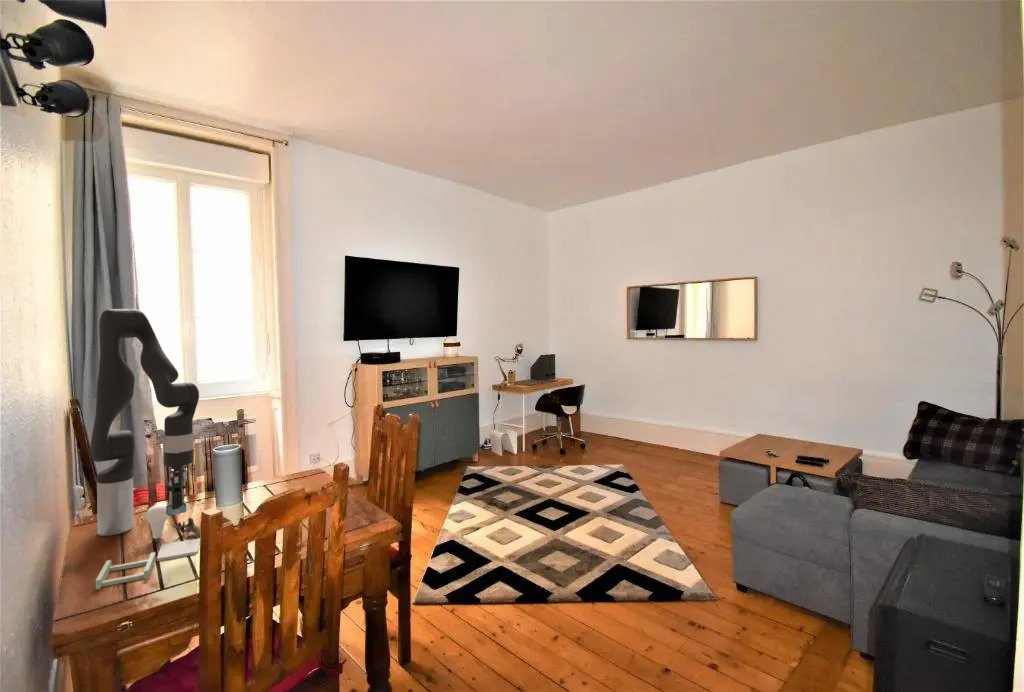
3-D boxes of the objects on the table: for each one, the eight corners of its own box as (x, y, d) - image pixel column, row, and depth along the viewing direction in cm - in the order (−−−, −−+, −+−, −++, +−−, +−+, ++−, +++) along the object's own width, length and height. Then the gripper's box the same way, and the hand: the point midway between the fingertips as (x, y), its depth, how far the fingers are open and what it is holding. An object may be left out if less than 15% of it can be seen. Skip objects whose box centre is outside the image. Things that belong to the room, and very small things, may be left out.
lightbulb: (156, 543, 149) (156, 509, 149) (140, 541, 150) (140, 507, 150) (174, 535, 155) (173, 502, 155) (158, 533, 156) (158, 500, 156)
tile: (161, 547, 147) (161, 544, 147) (200, 540, 152) (200, 538, 152) (156, 561, 138) (156, 558, 138) (197, 553, 143) (197, 551, 143)
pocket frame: (106, 569, 133) (106, 560, 133) (155, 560, 139) (155, 552, 139) (95, 589, 123) (95, 580, 123) (148, 579, 128) (148, 570, 128)
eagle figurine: (166, 537, 151) (189, 535, 149) (174, 514, 155) (197, 512, 153) (186, 542, 157) (208, 540, 155) (193, 519, 161) (215, 517, 159)
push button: (189, 507, 149) (189, 476, 149) (194, 512, 145) (194, 479, 145) (164, 513, 144) (163, 480, 144) (167, 518, 140) (167, 484, 140)
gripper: (166, 444, 148) (167, 498, 149) (160, 455, 136) (160, 514, 136) (195, 442, 152) (195, 494, 153) (191, 452, 140) (191, 509, 140)
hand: (179, 503), depth 145 cm, fingers closed on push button, 4 cm apart
